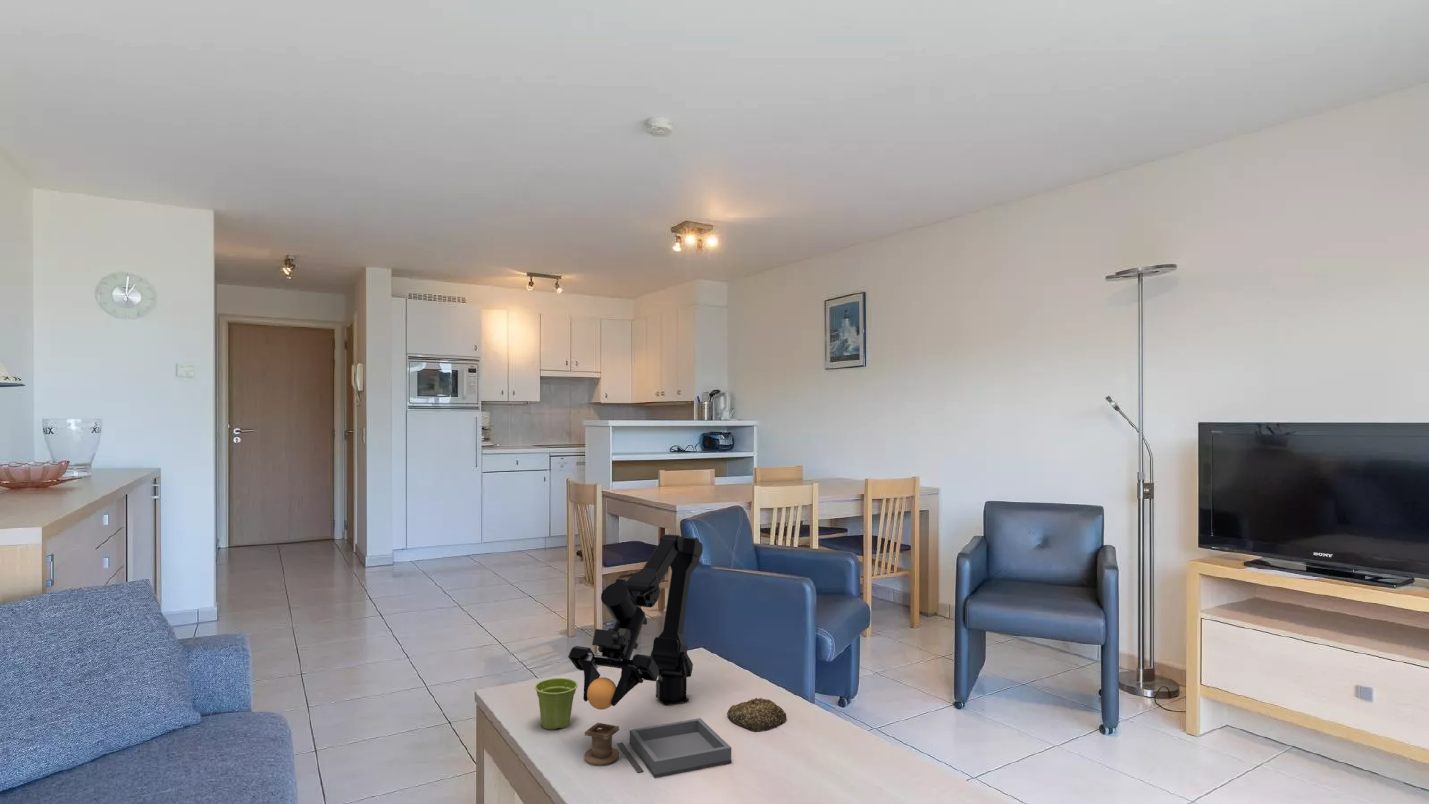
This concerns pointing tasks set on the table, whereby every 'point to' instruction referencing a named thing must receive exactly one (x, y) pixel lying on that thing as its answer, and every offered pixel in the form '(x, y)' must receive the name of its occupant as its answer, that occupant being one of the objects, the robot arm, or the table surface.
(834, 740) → the table surface
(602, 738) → the tee
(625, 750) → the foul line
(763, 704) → the brown speckled mound
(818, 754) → the table surface
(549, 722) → the plant pot
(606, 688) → the ball
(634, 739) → the grey square tray
